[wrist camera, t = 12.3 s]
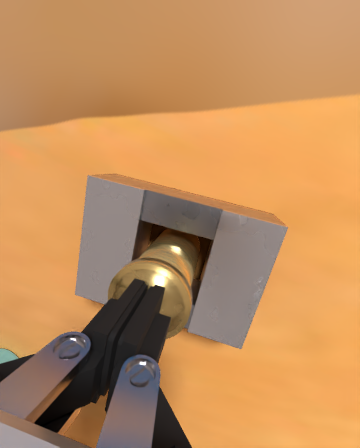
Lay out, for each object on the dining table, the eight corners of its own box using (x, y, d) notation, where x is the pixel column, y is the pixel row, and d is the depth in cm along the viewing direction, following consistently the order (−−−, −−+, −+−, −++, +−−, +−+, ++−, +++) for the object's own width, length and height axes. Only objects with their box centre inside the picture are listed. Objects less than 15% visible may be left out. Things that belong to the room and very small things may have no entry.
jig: (272, 213, 18) (288, 227, 14) (237, 313, 21) (241, 349, 17) (115, 173, 20) (87, 175, 16) (101, 271, 22) (75, 294, 18)
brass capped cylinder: (209, 229, 19) (200, 278, 11) (196, 275, 21) (179, 351, 12) (159, 216, 20) (113, 253, 11) (150, 261, 21) (102, 325, 13)
